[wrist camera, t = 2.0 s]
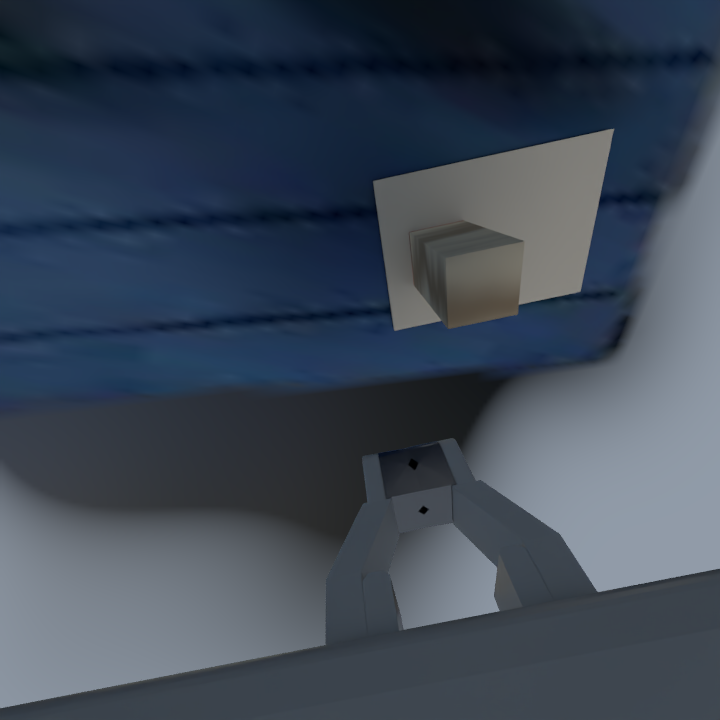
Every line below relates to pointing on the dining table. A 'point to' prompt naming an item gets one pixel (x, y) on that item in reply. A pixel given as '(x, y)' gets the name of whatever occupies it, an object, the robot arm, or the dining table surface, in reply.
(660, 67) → the dining table surface
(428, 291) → the birch block
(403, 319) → the sand mat
